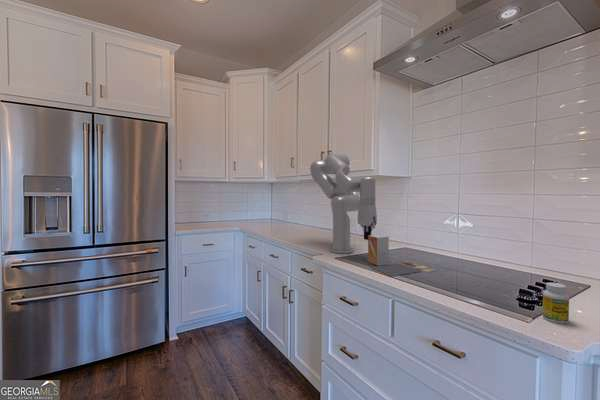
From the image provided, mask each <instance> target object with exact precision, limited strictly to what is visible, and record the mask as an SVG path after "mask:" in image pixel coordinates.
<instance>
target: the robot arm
mask: <svg viewBox="0 0 600 400" xmlns="http://www.w3.org/2000/svg"><path fill="white" fill-rule="evenodd" d="M324 159H325V160H324ZM324 159H323V160H322V159H319V160H315V161H313V162H311V164H310V168H309V170H310V175H311V177H312V179H313V180H314V182H315V183H316V184H317V185H318V186H319V187H320V189H321V190H322V192H323V193H324V194H325V196H326V197H327V198H328V199H329V200H330V207H331V211H332V212H331V213H332V242H331V245H332V247H331V248H329V251H330V252H331V253H333V254H340V255H341V254H343V255H345V254H350V253H353V252H354V249H353V248H352V247H351V218H350V216H349V214H348V213H349V212H357V224H358V225H360V228H361V227H362V231H363V239H364V240H365V241H368V235H372V232H373V229H376V226H377V222H378V221H377V220H378V219H377V218H378V216H377V207H376V178H375V177H372V176H363V177H362V176H361V177H360V176H359V177H358V176H349V174H350V172H351V171H350V161H351V160H350V158H349V157H348V156H347V155H345V154H329V155H327V156H326V157H325V158H324ZM329 175H335V177H334V178H335V181H334V180H333V179H332V177H331V176H329ZM357 193H359V195H358V194H357Z"/></svg>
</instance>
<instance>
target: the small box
mask: <svg viewBox="0 0 600 400" xmlns="http://www.w3.org/2000/svg"><path fill="white" fill-rule="evenodd" d="M389 238H390V237H389V236H387V235H381V234H371V235H368V240H367V257H368V258H367V259H368V260H367V261H368V263H370V264H372V265H375V266H382V265H390V247H389V243H390V242H389Z"/></svg>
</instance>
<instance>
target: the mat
mask: <svg viewBox="0 0 600 400" xmlns="http://www.w3.org/2000/svg"><path fill="white" fill-rule="evenodd" d="M369 268H370V269H371V268H372V269H371V270H373V269H374V270H373V271H376V270H377V271H376V272H378V271H379V272H378V273H380V272H381V274H384V275H385V276H388V277H391V278H392V277H396V276H395V275H399V276H403V275H404V274H405V275H410V274H411V275H412V274H419V273H421V272H422V271H420V270H417V269H414V267H411V266H407V265H405V264H402V263H401V264H400V263H391V264H390V263H389V265H380V266H377V265H375V266H369Z"/></svg>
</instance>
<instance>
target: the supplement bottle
mask: <svg viewBox="0 0 600 400" xmlns="http://www.w3.org/2000/svg"><path fill="white" fill-rule="evenodd" d="M545 288H546V290H544V291H543V292H542V318H543V319H544V320H546V321H548V322H551V323H556V324H561V325H563V324H565V325H566V324H568V323H569V316H570V314H569V313H570V296H569V294H567V293H566V291H567V287H566V285H565V284H561V283H557V282H546V284H545Z"/></svg>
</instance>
